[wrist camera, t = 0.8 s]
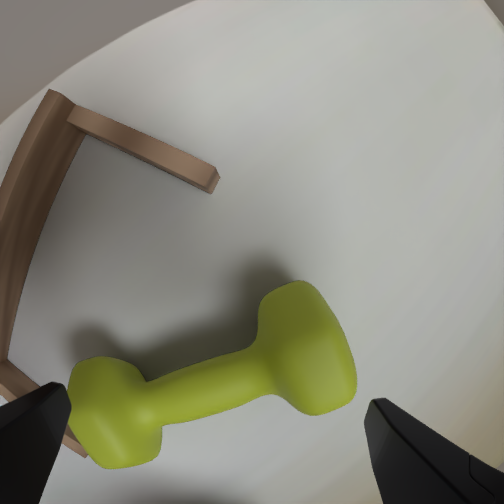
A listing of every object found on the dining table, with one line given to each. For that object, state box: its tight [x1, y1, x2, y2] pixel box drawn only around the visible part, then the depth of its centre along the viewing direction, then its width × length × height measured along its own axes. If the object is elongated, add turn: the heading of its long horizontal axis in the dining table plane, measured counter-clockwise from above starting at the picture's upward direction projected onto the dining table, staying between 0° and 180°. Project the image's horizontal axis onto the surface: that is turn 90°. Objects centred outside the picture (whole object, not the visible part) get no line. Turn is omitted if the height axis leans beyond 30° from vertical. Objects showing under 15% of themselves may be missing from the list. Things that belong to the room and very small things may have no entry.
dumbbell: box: [67, 280, 357, 469], centre depth 17 cm, size 16×8×7 cm, turn 112°
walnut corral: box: [0, 89, 220, 458], centre depth 17 cm, size 12×22×5 cm, turn 152°
